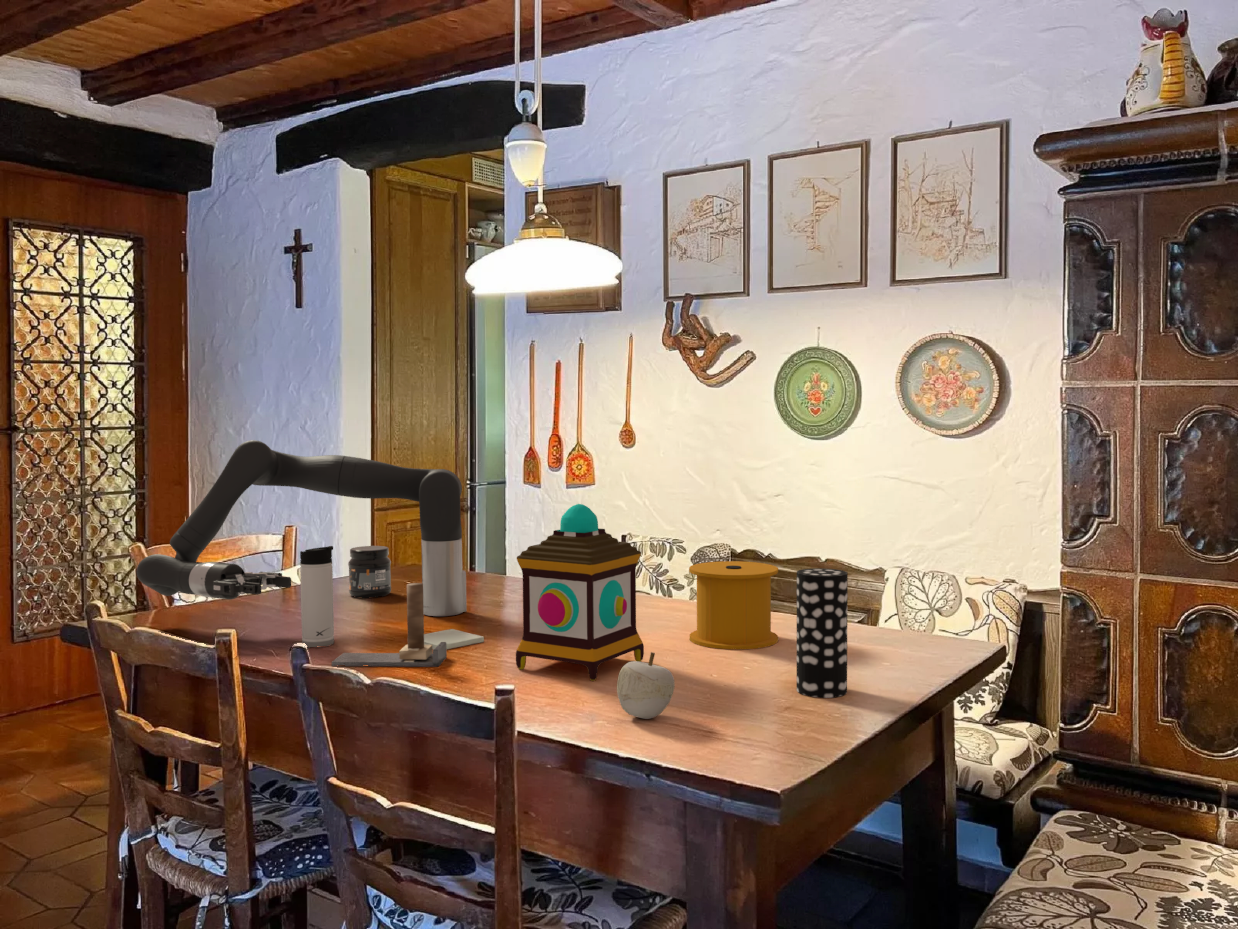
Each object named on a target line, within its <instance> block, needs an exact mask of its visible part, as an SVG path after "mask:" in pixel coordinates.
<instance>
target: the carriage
mask: <svg viewBox="0 0 1238 929" xmlns="http://www.w3.org/2000/svg"><path fill="white" fill-rule="evenodd" d="M406 612H407V614H406V615H407V618H406V620H407V644H405V645H404V646H403V647H402V648H401V649H400V650H398V651H399V652H398V653H399V654H400V659H427V658H428V657H429V656H430V655H431V654H432V653H433V649H432V645H424V634H425V629H424V628H425V625H424V624H425V622H424V609H423V584H422V582H413V583H407V584H406Z"/></svg>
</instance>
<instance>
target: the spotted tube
mask: <svg viewBox="0 0 1238 929" xmlns="http://www.w3.org/2000/svg"><path fill="white" fill-rule="evenodd" d="M848 577H849V576H848V572H847V571H845V570H842V569H835V568H820V567H818V568H802V569H799V570H797V571H796V692H797V693H799V694H800V695H802V696H807V697H812V698H820V699H828V698H829V699H832V698H833V699H834V698H838V697H839V698H840V697H843V696H845V695H847V694H848V587H849V586H848V585H849V584H848V582H849V581H848V580H849V578H848Z"/></svg>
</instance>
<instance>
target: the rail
mask: <svg viewBox="0 0 1238 929" xmlns="http://www.w3.org/2000/svg"><path fill="white" fill-rule="evenodd" d="M447 650H448V649H446V642H441V643H440V644H439V645H438V646H437V647H436V648H435V649H432V654H431V655H430V656H429V657H428V658H427V659H400V654H399V652H343V653H341V654H340V655H338V656H337V657H336V658H335V659H333V660H332V661H331V667H340V666H339V665H345V666H344V667H364V666H363V665H368V666H367V667H397V668H398V667H406V668H407V667H409V668H410V667H411V668H412V667H413V668H414V667H417V668H419V667H422V668H423V667H425V668H426V667H427V668H428V667H433V668H438V667H439V666H441V664H442V663H443V662H444V661H445V660H446V659H447V657H448V656H447V655H448V654H447ZM337 665H338V666H337Z"/></svg>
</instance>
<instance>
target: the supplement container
mask: <svg viewBox="0 0 1238 929" xmlns="http://www.w3.org/2000/svg"><path fill="white" fill-rule="evenodd" d="M389 554H390V552H389V547H388V546H383V545H363V546H355V547H351V548H350V549H349V557H350V559H349V560H348V563H347V565H348V583H349V584H348V585H349V586H348V589H349V590H348V593H349V595H350V596H352V597H353V596H355V597H354V598H357V597H362V598H361V599H370V598H369V597H376V598H379V597H378V596H382V597H386V596H388V595H389V594H390V593H391V591H392V581H391V578H392V576H391V575H392V574H391V564H392V561H391V559H390V557H388V556H389Z"/></svg>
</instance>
